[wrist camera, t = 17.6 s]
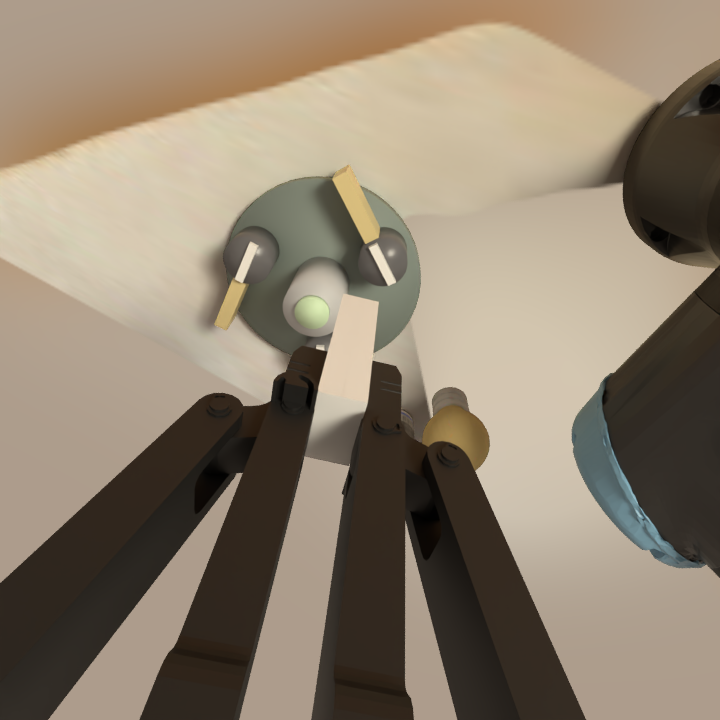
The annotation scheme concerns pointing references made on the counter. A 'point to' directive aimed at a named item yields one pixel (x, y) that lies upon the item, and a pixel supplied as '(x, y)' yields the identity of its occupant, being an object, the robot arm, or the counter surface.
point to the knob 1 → (246, 267)
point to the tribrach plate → (322, 235)
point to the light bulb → (457, 425)
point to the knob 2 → (319, 342)
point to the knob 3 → (372, 235)
